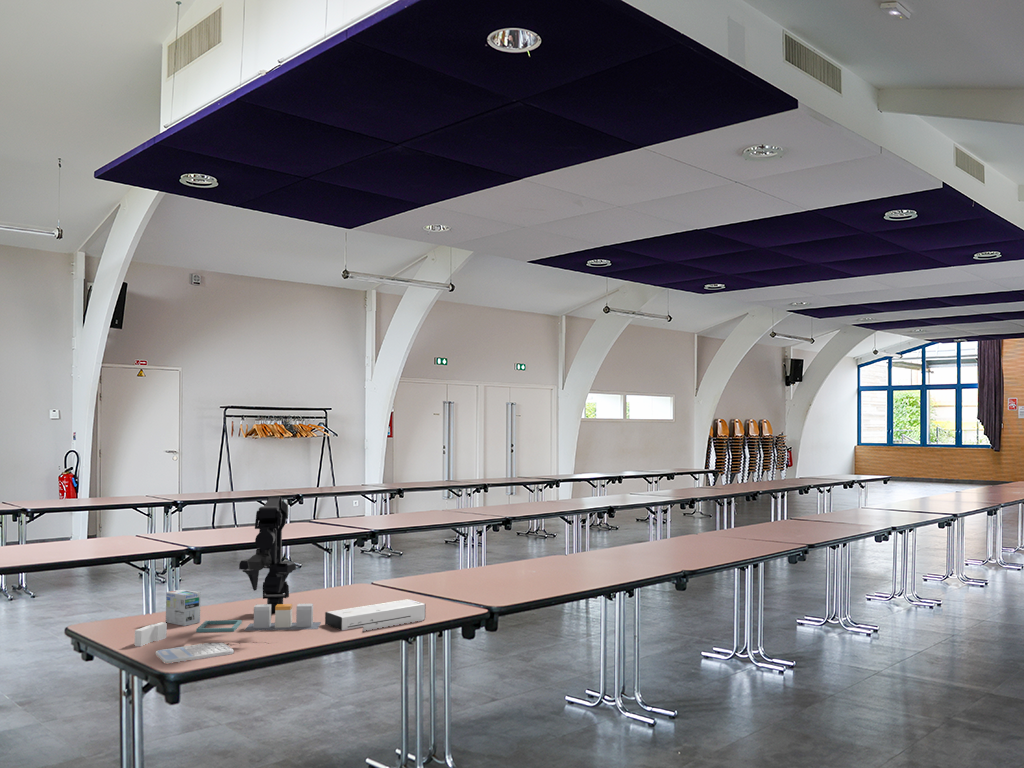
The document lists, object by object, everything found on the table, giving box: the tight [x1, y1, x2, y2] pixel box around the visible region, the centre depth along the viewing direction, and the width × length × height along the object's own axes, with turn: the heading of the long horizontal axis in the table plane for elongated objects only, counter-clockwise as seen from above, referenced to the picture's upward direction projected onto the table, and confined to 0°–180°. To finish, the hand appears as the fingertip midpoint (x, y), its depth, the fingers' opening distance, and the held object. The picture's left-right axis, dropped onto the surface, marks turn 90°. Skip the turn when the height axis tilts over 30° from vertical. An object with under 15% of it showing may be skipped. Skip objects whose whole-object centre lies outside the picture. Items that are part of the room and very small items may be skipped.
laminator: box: [324, 598, 427, 632], centre depth 291 cm, size 34×12×6 cm, turn 131°
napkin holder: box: [134, 621, 168, 647], centre depth 266 cm, size 15×11×6 cm
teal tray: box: [195, 619, 242, 633], centre depth 279 cm, size 12×12×2 cm
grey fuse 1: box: [253, 603, 272, 628], centre depth 280 cm, size 4×5×7 cm
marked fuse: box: [274, 603, 293, 628], centre depth 281 cm, size 4×5×7 cm
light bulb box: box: [165, 589, 201, 627], centre depth 292 cm, size 11×7×11 cm, turn 59°
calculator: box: [155, 642, 235, 664], centre depth 252 cm, size 13×20×2 cm, turn 126°
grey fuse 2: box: [295, 603, 314, 627], centre depth 282 cm, size 4×5×7 cm
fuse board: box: [243, 621, 322, 632], centre depth 281 cm, size 10×24×2 cm, turn 96°
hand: (266, 591), depth 279 cm, fingers open, 9 cm apart
